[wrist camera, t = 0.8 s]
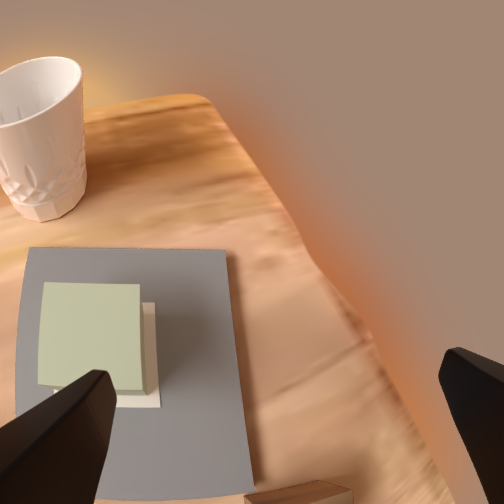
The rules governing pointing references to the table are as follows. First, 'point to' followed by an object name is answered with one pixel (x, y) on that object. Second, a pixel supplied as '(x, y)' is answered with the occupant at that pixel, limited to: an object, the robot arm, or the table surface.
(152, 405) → the building board
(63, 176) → the white cup
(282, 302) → the table surface
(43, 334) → the sage cube
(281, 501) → the walnut cube
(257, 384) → the table surface
